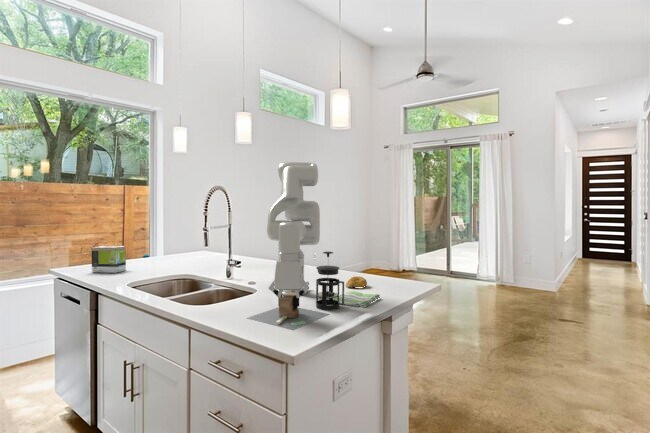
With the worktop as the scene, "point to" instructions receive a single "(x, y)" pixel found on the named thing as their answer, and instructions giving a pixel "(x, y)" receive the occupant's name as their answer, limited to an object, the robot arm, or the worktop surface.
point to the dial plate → (288, 323)
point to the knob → (287, 307)
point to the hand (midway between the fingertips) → (288, 307)
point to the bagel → (356, 282)
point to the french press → (325, 294)
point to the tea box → (108, 259)
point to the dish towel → (357, 299)
